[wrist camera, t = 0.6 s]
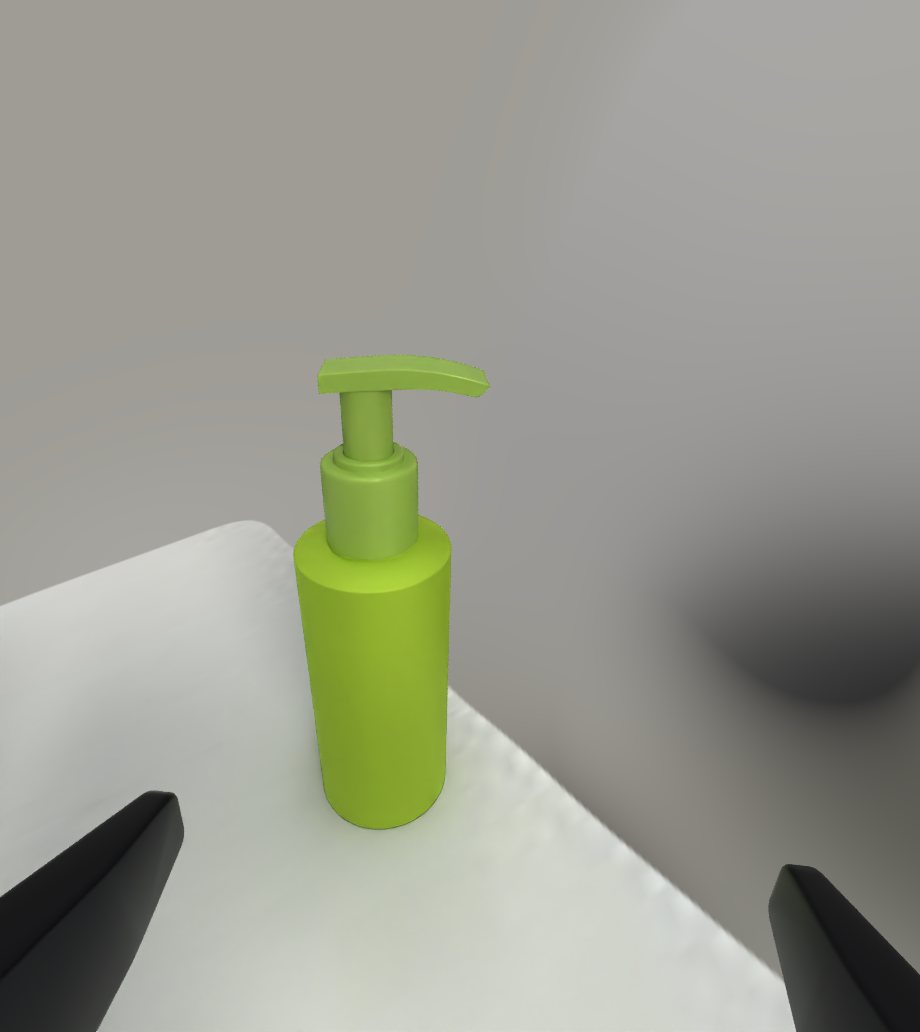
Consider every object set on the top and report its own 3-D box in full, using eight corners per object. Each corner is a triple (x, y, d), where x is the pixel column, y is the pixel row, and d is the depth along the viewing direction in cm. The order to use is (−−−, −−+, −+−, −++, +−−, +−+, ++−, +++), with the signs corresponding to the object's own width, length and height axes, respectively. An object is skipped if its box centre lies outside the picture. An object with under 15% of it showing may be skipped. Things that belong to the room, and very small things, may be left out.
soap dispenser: (472, 824, 26) (500, 389, 16) (316, 833, 26) (248, 388, 16) (461, 720, 31) (477, 341, 21) (330, 726, 31) (286, 339, 21)
